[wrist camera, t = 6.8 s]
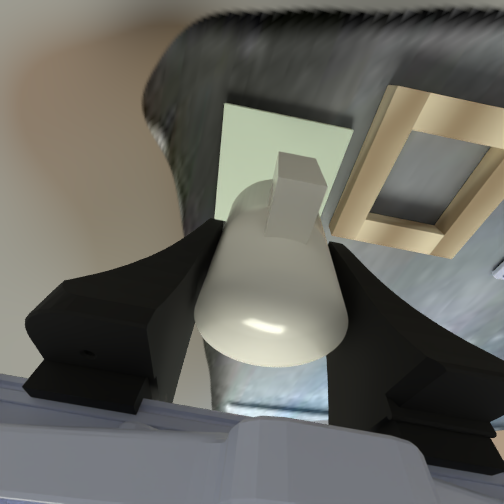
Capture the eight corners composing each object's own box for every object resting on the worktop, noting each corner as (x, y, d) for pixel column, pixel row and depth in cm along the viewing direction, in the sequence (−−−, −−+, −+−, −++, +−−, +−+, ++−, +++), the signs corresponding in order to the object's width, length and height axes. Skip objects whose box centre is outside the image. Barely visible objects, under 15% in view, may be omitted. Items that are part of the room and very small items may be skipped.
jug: (303, 264, 15) (318, 376, 10) (225, 249, 15) (192, 354, 9) (347, 150, 11) (417, 228, 5) (239, 128, 11) (197, 186, 5)
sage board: (351, 128, 17) (353, 130, 17) (311, 234, 22) (312, 238, 22) (226, 102, 17) (224, 103, 16) (215, 215, 22) (214, 218, 22)
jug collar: (545, 118, 16) (569, 122, 14) (441, 248, 22) (451, 258, 21) (388, 84, 15) (398, 85, 14) (328, 226, 22) (331, 235, 20)
